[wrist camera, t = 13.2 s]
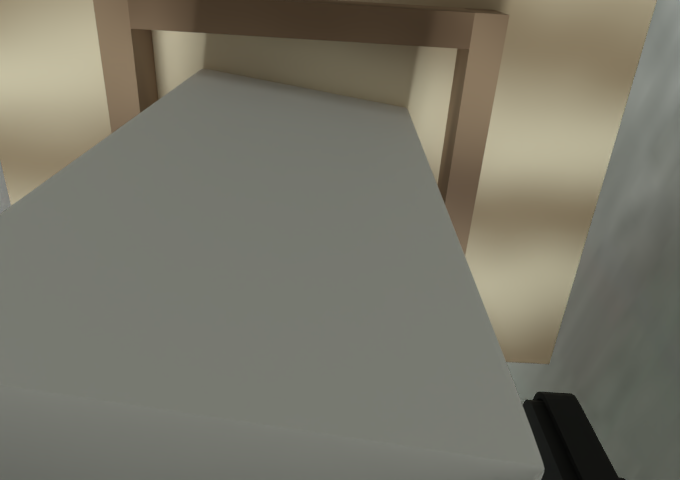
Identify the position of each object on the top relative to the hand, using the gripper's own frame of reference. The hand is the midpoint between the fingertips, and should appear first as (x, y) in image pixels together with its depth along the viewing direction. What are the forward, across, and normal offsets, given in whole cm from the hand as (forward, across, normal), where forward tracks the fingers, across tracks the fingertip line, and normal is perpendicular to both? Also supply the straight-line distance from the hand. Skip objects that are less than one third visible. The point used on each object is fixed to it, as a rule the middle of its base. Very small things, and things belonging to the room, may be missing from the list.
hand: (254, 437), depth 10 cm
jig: (+13, 0, -1) cm, 13 cm away
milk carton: (+12, +1, 0) cm, 12 cm away
